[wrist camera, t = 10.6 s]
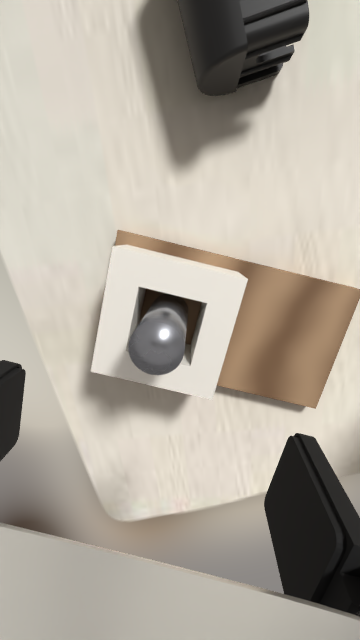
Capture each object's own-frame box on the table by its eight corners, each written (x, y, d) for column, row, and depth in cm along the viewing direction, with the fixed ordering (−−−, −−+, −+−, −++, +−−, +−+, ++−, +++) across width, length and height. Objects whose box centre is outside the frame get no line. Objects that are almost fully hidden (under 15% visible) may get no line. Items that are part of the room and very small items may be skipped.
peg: (192, 298, 28) (190, 329, 18) (183, 333, 29) (177, 380, 19) (155, 289, 28) (133, 316, 18) (147, 324, 29) (123, 368, 19)
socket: (238, 271, 27) (248, 279, 22) (209, 373, 30) (212, 400, 25) (126, 244, 27) (112, 246, 22) (107, 349, 30) (90, 371, 25)
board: (354, 287, 29) (362, 290, 27) (309, 400, 32) (315, 408, 30) (121, 230, 28) (117, 230, 27) (99, 351, 31) (95, 356, 30)
